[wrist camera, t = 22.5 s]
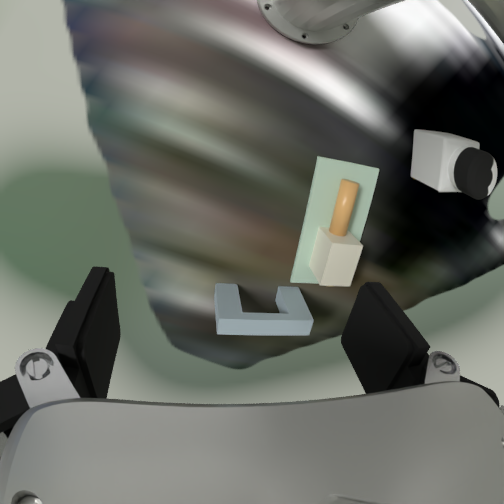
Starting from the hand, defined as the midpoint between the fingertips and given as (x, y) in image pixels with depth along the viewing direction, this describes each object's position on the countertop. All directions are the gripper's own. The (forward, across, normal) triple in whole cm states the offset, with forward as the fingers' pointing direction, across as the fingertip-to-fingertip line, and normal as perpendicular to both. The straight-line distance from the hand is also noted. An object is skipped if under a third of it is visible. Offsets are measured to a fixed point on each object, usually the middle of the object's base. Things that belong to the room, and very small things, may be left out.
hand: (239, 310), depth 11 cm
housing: (+28, -8, +18) cm, 35 cm away
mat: (+28, -17, +7) cm, 34 cm away
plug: (+28, -17, +7) cm, 33 cm away
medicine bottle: (+28, -30, -6) cm, 42 cm away
